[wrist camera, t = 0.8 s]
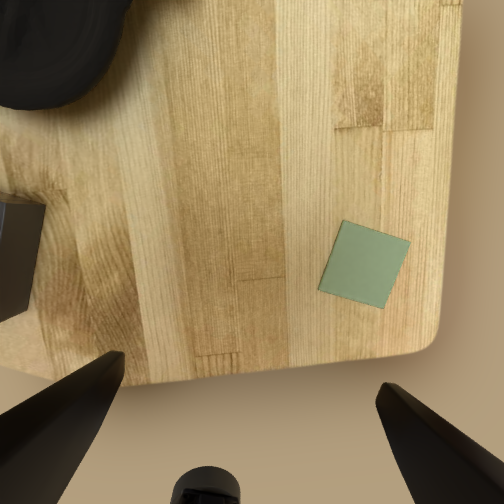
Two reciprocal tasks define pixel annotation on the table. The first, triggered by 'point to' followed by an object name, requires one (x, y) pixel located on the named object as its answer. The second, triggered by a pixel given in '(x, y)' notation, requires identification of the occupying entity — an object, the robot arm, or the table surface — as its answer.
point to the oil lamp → (56, 49)
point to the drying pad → (363, 265)
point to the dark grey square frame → (17, 251)
